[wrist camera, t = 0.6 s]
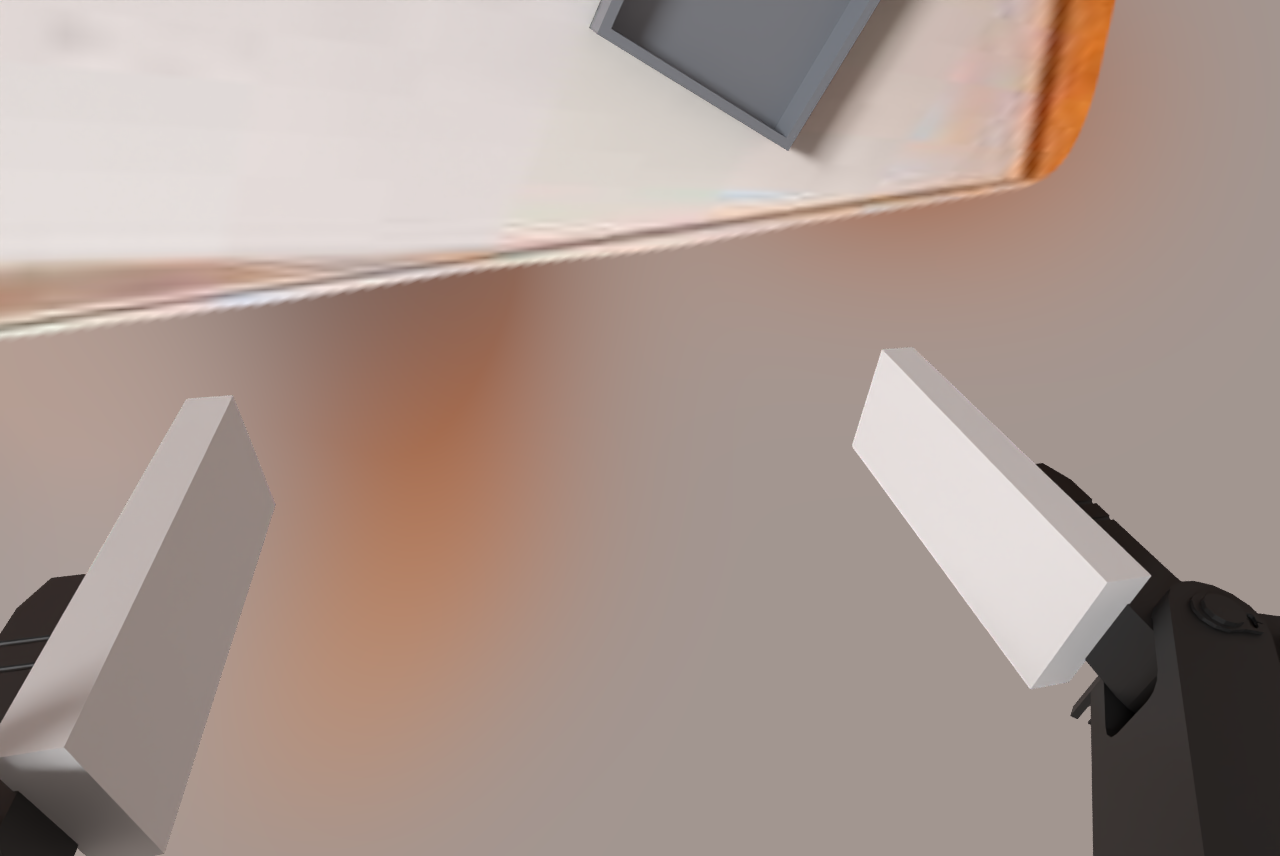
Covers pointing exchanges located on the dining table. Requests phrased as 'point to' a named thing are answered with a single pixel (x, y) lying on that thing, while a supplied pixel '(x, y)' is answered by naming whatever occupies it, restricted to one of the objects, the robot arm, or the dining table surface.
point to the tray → (742, 51)
